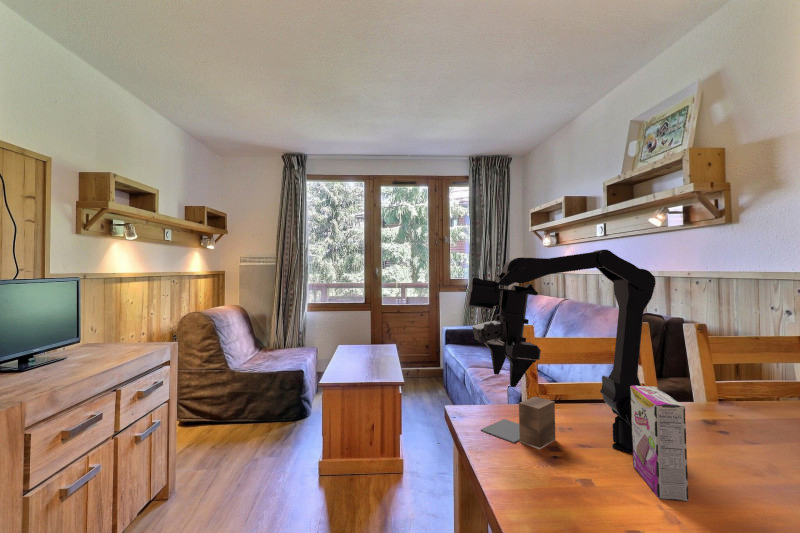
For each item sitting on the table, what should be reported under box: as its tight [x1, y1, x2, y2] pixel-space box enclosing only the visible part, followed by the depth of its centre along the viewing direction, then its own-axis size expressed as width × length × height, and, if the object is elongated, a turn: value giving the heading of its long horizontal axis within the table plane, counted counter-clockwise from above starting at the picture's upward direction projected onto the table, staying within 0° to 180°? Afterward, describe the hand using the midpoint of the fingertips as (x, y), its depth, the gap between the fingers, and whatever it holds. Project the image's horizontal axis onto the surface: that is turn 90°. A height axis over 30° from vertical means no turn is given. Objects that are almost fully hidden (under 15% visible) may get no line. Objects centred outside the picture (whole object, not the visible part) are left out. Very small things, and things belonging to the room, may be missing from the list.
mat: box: [480, 418, 520, 444], centre depth 94 cm, size 10×10×1 cm
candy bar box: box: [630, 385, 689, 502], centre depth 70 cm, size 11×5×16 cm, turn 168°
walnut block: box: [518, 396, 556, 450], centre depth 88 cm, size 5×7×9 cm
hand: (503, 380), depth 86 cm, fingers open, 9 cm apart
